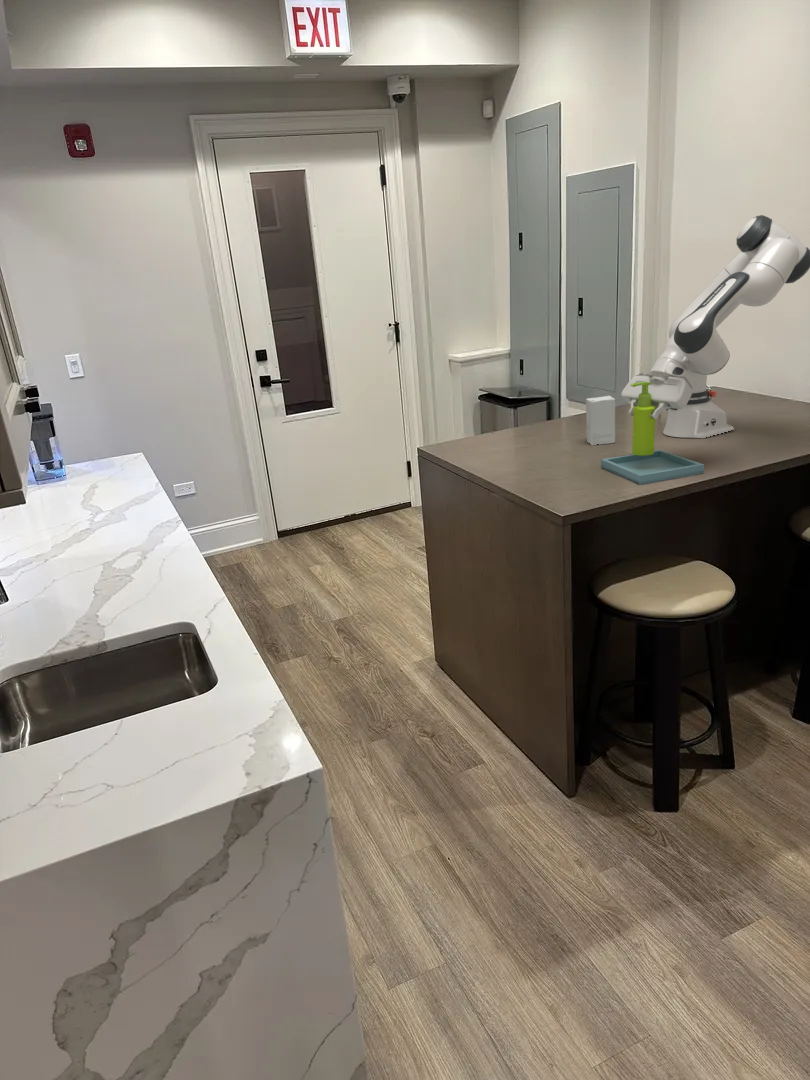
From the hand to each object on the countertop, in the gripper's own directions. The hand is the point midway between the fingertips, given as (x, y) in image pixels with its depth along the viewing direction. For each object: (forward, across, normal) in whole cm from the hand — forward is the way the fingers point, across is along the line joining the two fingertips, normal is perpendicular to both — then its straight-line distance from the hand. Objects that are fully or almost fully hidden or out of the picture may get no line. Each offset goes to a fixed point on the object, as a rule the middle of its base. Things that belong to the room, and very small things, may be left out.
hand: (641, 416), depth 205 cm
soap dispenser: (+7, 0, +8) cm, 11 cm away
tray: (+10, +2, +12) cm, 16 cm away
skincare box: (-1, -31, +23) cm, 39 cm away
